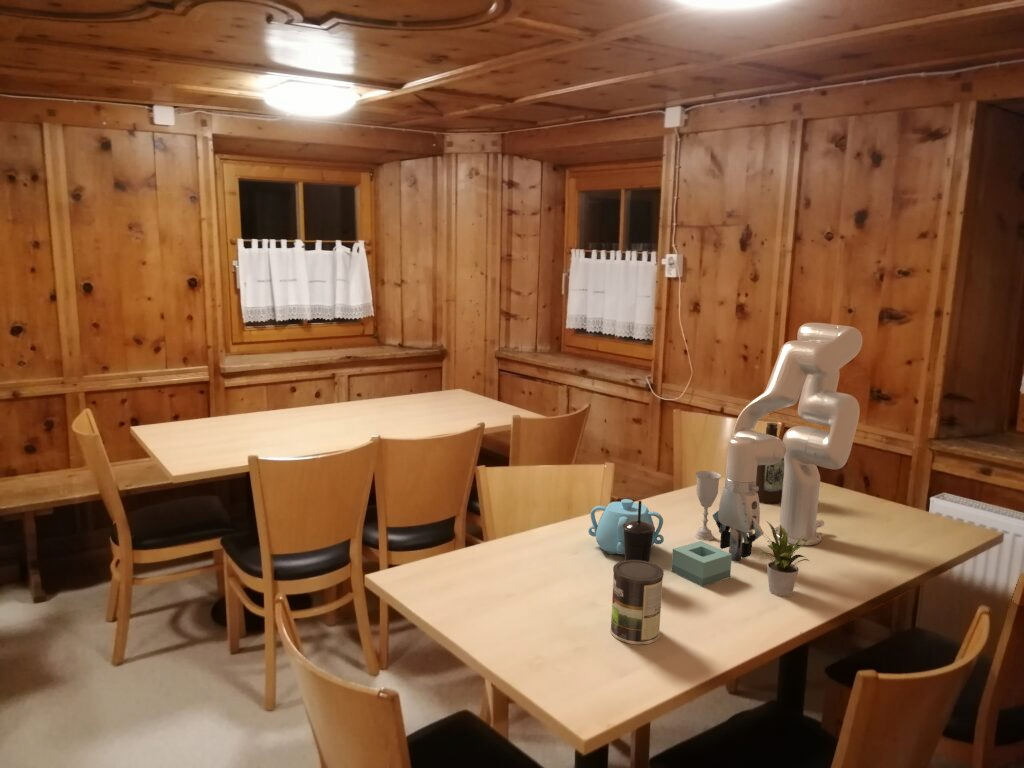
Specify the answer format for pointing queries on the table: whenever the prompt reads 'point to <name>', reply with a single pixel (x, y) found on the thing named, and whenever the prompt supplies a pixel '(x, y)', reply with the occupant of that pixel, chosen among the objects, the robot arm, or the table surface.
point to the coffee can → (636, 601)
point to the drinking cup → (638, 538)
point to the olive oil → (770, 476)
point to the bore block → (701, 563)
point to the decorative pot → (620, 524)
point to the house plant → (782, 564)
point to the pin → (735, 544)
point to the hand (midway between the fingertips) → (735, 551)
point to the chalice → (706, 498)
